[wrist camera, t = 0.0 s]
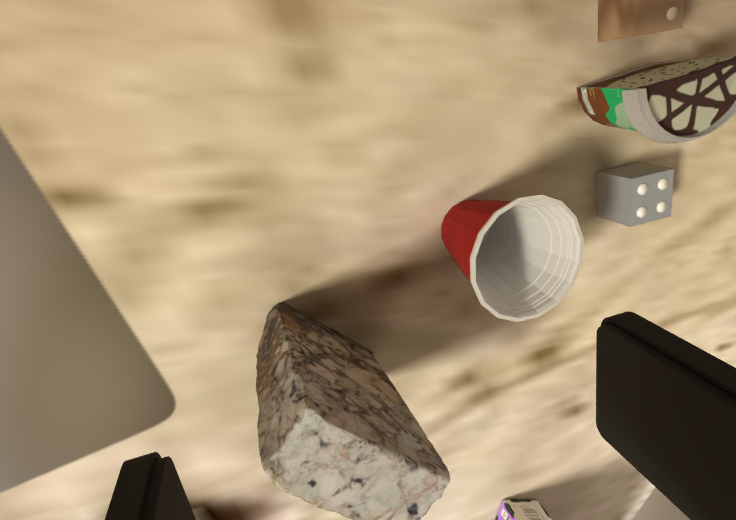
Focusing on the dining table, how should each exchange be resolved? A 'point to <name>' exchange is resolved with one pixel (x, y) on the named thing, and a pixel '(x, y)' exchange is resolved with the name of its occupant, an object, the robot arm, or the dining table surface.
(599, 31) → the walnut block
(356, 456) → the stone block
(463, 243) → the plastic cup
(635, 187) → the slate-grey block
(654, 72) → the food container
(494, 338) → the dining table surface
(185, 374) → the dining table surface
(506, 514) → the candy box
